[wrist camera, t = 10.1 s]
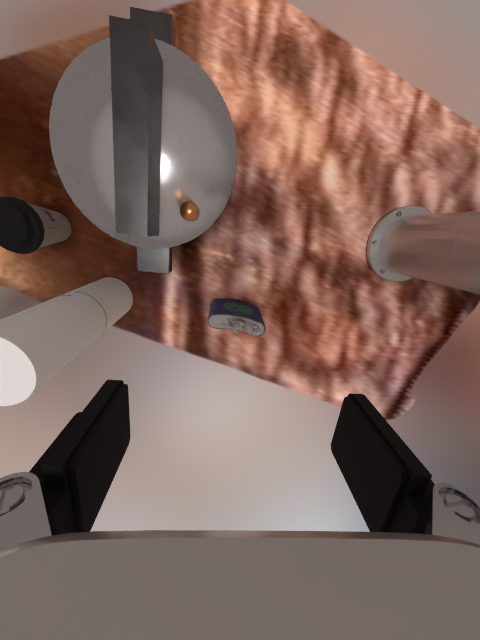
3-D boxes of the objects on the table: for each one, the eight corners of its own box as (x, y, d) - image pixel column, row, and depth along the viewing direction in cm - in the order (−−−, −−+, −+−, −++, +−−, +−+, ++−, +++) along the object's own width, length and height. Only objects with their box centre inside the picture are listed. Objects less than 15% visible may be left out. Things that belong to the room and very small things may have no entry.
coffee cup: (71, 256, 43) (28, 264, 33) (28, 235, 41) (-30, 238, 32) (84, 217, 41) (43, 214, 31) (39, 193, 39) (-19, 183, 30)
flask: (209, 309, 47) (205, 332, 37) (212, 294, 46) (209, 313, 36) (257, 319, 48) (266, 342, 38) (261, 304, 47) (271, 324, 37)
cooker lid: (46, 24, 24) (-9, -39, 18) (247, 64, 26) (253, 18, 20) (65, 236, 30) (29, 238, 25) (226, 257, 32) (227, 263, 27)
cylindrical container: (86, 279, 44) (-73, 337, 20) (127, 275, 44) (17, 328, 21) (97, 318, 46) (-33, 410, 23) (137, 314, 47) (48, 401, 23)
